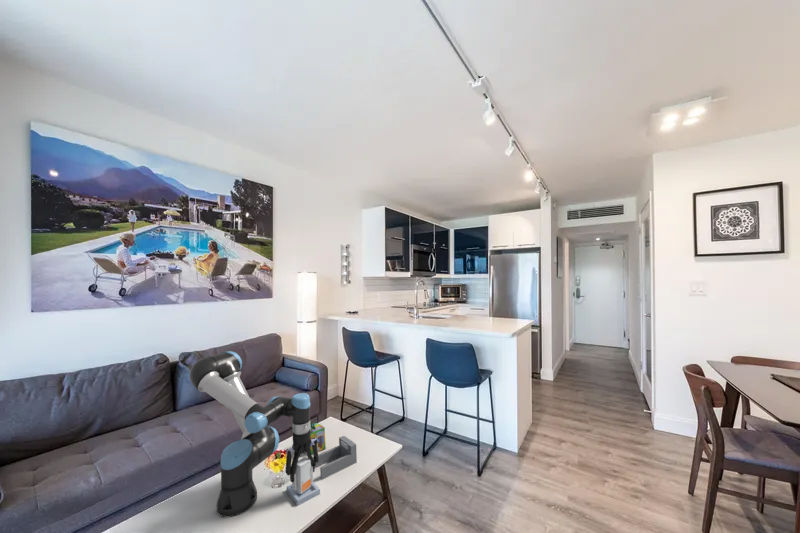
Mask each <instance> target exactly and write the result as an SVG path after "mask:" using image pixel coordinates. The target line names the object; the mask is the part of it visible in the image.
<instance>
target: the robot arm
mask: <svg viewBox="0 0 800 533" xmlns="http://www.w3.org/2000/svg"><path fill="white" fill-rule="evenodd" d="M242 364H243V361H242V358H241V357H240V355H239V354H238V353H237V352H235V351H232V350H228V351H223V352H220V353H216V354H213V355H210V356H206V357H202V358H200V359H198V360H197V361H196V362H194V364H193V365H192V366H191V368H190V370H189V381H190V383H191V385H192V387H193V388H194V389H196V390H198V391H199V392H200V393H207V395H209V396H210V397H212V398H213V399H215V400H216V401H218V402H219V403H220V404H222V405H223V406H225V407H226V408H227V409H229V410H230V411H231V412H232V413H233V415H234V417H235V419H236V422H237V424H238V426H239V428H240V430H241V432H242V436H241V438H240V439H239V440H237V441H233V442H232V443H229V444H228V445H226V447H224V449H223V450H222V452H221V455H220V462H219V464H220V480H221V481H220V484H221V486H220V492H219V496H218V499H217V501H216V513H217V512H218V513H219V514H220V515H222V516H221V517H224V516H230V517H235V516H237V515H241V514H243V513H245V512H246V511H249V509H251V508H252V507H253V506H254V505H255V504H256V502H257V501H258V489H257V486H256V485H255V482H254V479H253V469H254V468H257V466H259V465H260V464H261V463H263V461H265V460H266V459H268V458H269V457H271V456H272V455H273V453H275V452H276V450H277V449H278V448H279V443H280V436H279V433H278V431H277V429H276V428H275V427H273V426H270V425H271V424H273V423H274V422H276V421H277V420H279V419H281V418H282V417H289V418H291V420H292V422H291V423H292V446H291V447H290V448H286V449H285V454H286V460H285V471H284V472H285V475H287V476H289V481H290V482H291V484H292V487H293V489H294V490H297V485H296V473H295V470H296V466H297V463H298V461H299V460H300V459H299V458H300V456H301V455H302V454H306V456H307V457H306V458H309V459H310V460H311V482H314V473H315V470H316V468H315V465H316V464H315V463H316V462H318V461H319V459H318V454H319V452H318V451H317V442H318V441H317V440H316V439H315V438H314V439H313V440H311V430H310V425H311V424H310V421H311V401H310V399H311V398H310V395H309V394H308V393H305V392H302V393H300V392H299V393H297V394H294V395H293V396H292V397H286V396H282V395H281V396H273V397H271V398H270V400H269V401H268V403H267V404H266V405H265V406H263V405H262V404H259V403H258V401H257V402H256V401H255V400H254V399H252V398H251V397H250V396H249V393H248V391H247V389H246V387H245V385H244V383H243V382H242V379H241V374H242V371H241V369H242V367H243V365H242ZM311 444H312V449H313V454H312V455H311V453H310V450H309V447H310V445H311ZM293 451H294V453H293ZM271 454H272V455H271ZM292 454H293V456H292ZM270 455H271V456H270ZM292 457H293V458H292ZM313 457H314V460H313ZM218 513H217V514H218ZM219 514H218V515H219ZM220 515H219V516H220Z"/></svg>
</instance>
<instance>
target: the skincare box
mask: <svg viewBox="0 0 800 533" xmlns="http://www.w3.org/2000/svg"><path fill="white" fill-rule="evenodd" d="M295 473H296V485H297V490H294V491H295V492H297V493H299V494H302V493H303V492H304V491H306V490H307V489H308V488H310V487H311V460H310V459H309V458H308V457H306V456H303V457H302V458H300V459H298V463H297V466H296V470H295Z"/></svg>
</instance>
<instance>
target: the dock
mask: <svg viewBox="0 0 800 533" xmlns="http://www.w3.org/2000/svg"><path fill="white" fill-rule="evenodd" d="M312 457H313V456H312ZM357 458H358V456H357V443H356V442H354V441H353V440H351V439H349V438H348V437H347V436H346V435H342V436H339V437H338V445H337V446H335V447H333V448H330V449H328V450H326V451H323V452H321V453H318V459H319V461H318V462H316V463H315V464H316V465H315V469H317V468H318V467H319V469H320V473H319V474H320V479H321V480H325V479H326V478H328V477H331V476H332V475H334V474H336V473H338V472H340V471H342V470H344V469H346V468H348V467H351V466H352V465H354V464H357V463H358V462H357V460H358V459H357ZM313 460H314V457H313Z"/></svg>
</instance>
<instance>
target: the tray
mask: <svg viewBox="0 0 800 533" xmlns="http://www.w3.org/2000/svg"><path fill="white" fill-rule="evenodd" d="M286 492H287V494H288V495H289V496H290V497H291V499H292V501H294V503H295V504H296V506H300V505H301V504H304V503H305V502H308V501H309V500H311V499H313V498H315V497H317V496H319V495H321V489H320V488H319V487H318V485H316V484H315V482H314V481H313V482H311V487H310V488H308V489H307V490H306V491H304V492H303V493H302V494H299V493H297V492H295V491H294V489H293V487H292V483H291V484H289V485H286Z"/></svg>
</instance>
